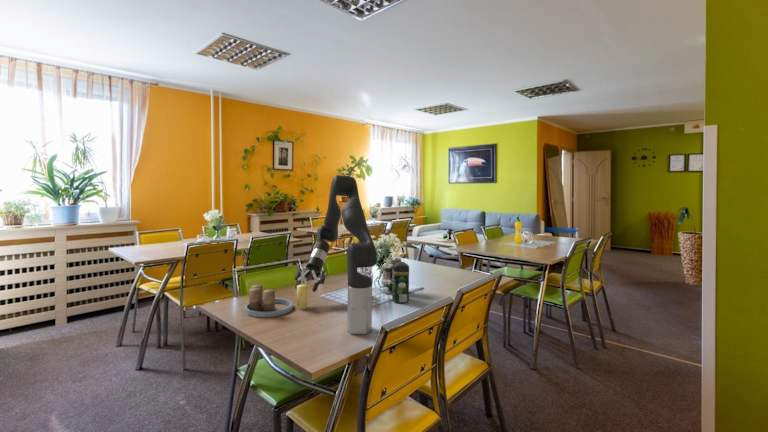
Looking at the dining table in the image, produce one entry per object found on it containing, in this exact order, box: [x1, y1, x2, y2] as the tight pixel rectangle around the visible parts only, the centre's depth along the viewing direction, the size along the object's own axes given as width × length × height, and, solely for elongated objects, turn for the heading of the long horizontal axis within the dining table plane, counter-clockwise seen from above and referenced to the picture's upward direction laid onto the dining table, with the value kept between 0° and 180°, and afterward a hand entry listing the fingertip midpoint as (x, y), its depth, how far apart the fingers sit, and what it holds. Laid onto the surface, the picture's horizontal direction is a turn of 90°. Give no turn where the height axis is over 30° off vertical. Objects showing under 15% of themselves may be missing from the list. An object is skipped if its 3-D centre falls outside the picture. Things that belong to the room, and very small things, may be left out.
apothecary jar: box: [380, 257, 403, 295], centre depth 191 cm, size 12×12×18 cm
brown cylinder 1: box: [248, 287, 262, 312], centre depth 158 cm, size 5×5×10 cm
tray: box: [244, 297, 294, 318], centre depth 162 cm, size 20×20×2 cm
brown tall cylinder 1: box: [250, 284, 264, 310], centre depth 163 cm, size 5×5×10 cm
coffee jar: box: [391, 261, 410, 304], centre depth 177 cm, size 10×8×19 cm
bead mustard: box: [296, 284, 309, 310], centre depth 164 cm, size 5×5×10 cm
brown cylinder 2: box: [263, 288, 276, 312], centre depth 156 cm, size 5×5×10 cm
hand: (305, 290), depth 166 cm, fingers open, 8 cm apart
